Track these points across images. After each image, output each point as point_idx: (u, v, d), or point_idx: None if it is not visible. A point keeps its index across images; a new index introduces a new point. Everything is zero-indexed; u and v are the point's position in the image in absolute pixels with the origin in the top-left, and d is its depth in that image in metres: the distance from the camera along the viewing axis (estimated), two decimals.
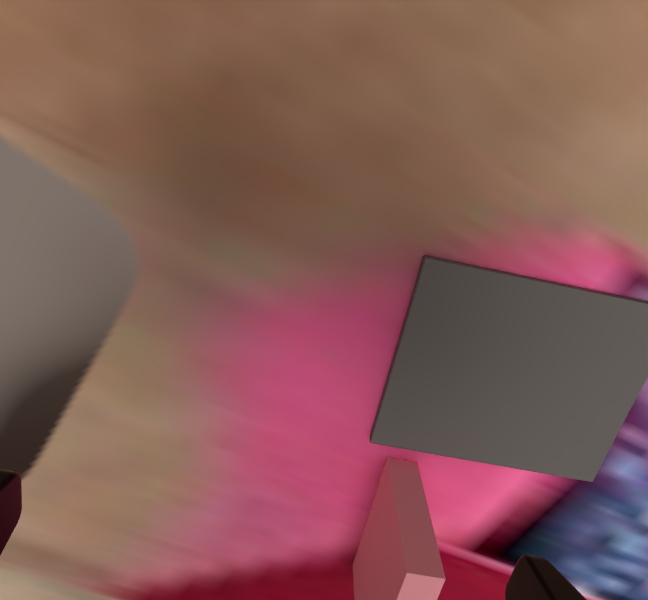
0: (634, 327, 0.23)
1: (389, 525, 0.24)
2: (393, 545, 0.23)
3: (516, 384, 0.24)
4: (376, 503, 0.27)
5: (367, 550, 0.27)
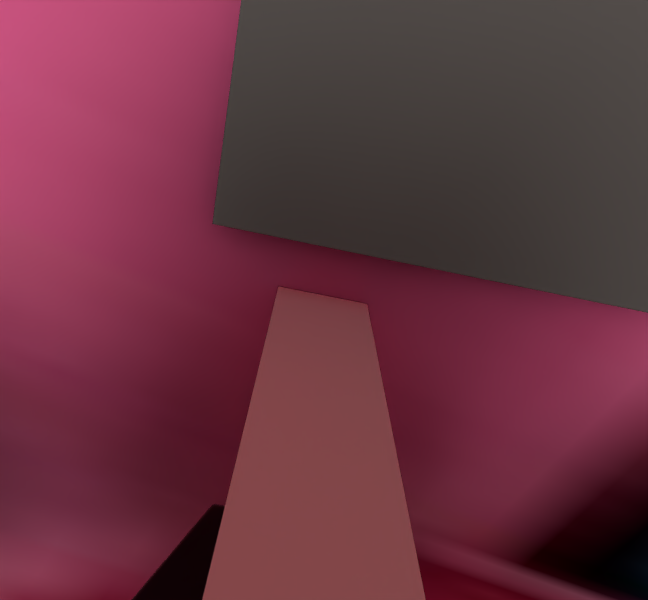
0: None
1: None
2: None
3: None
4: None
5: None
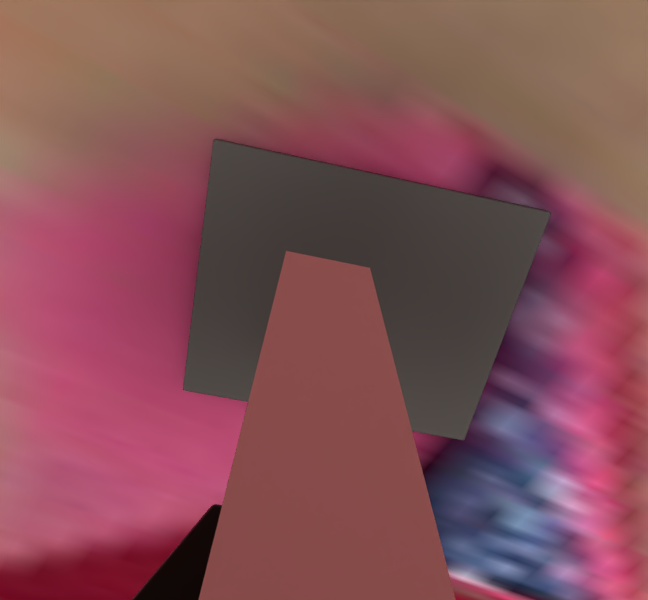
0: (493, 236, 0.18)
1: None
2: None
3: None
4: None
5: None
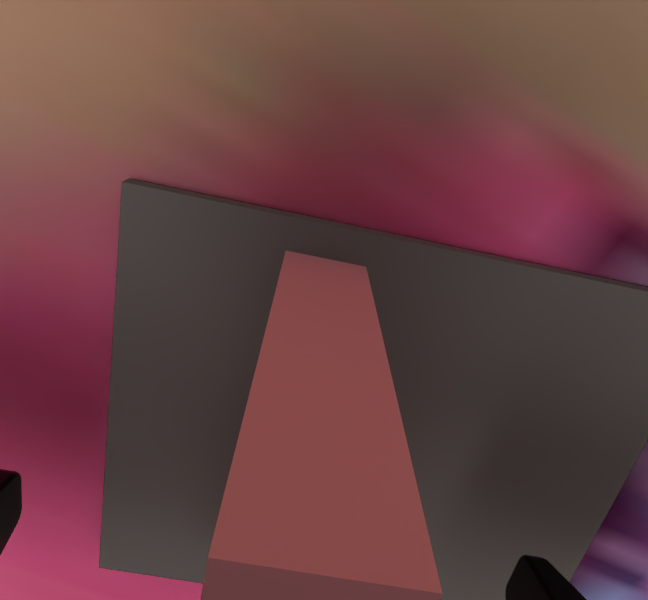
0: (617, 344, 0.11)
1: None
2: None
3: None
4: None
5: None
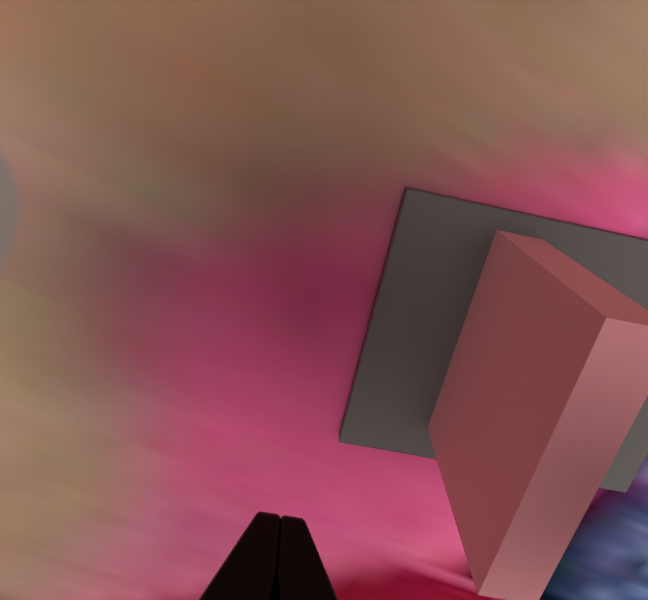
0: None
1: (523, 302, 0.14)
2: (543, 317, 0.12)
3: None
4: (477, 309, 0.17)
5: (463, 383, 0.17)
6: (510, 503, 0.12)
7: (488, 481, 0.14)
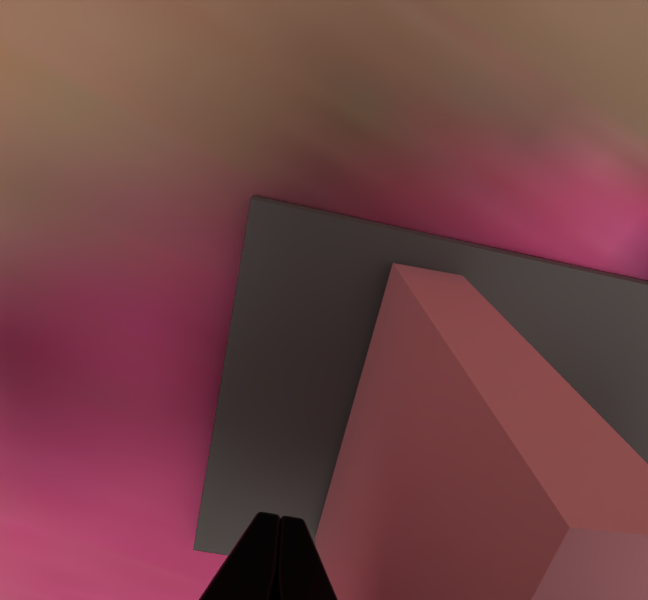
0: None
1: (423, 403, 0.08)
2: (450, 450, 0.07)
3: None
4: (368, 383, 0.11)
5: (350, 497, 0.11)
6: None
7: None
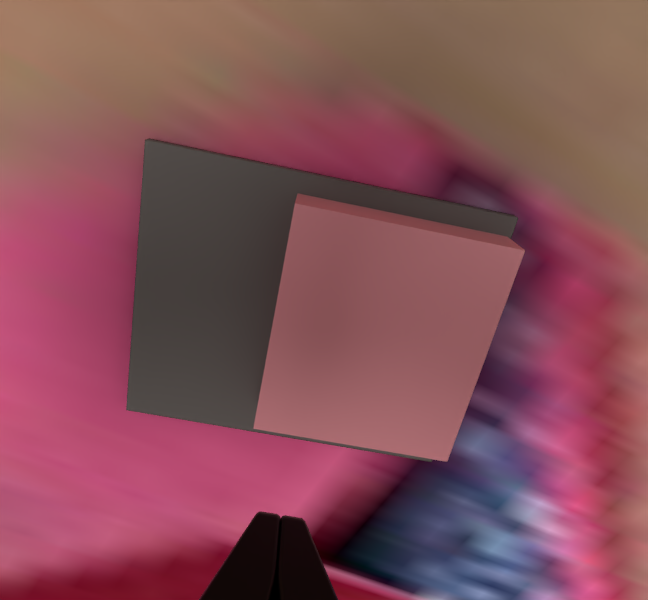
0: None
1: (403, 263, 0.15)
2: (444, 267, 0.15)
3: None
4: (301, 290, 0.16)
5: (319, 359, 0.17)
6: (462, 394, 0.17)
7: (421, 400, 0.17)
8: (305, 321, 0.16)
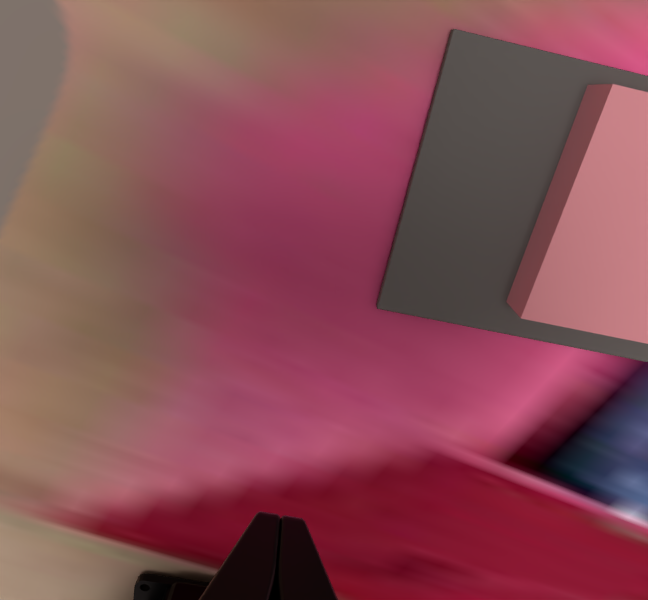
0: None
1: None
2: None
3: None
4: (599, 173, 0.16)
5: (600, 246, 0.17)
6: None
7: None
8: (595, 206, 0.17)
